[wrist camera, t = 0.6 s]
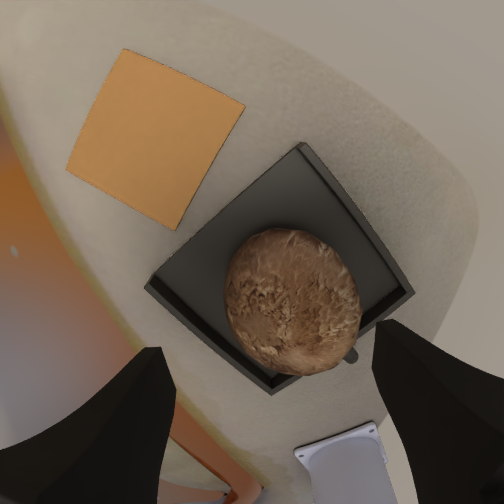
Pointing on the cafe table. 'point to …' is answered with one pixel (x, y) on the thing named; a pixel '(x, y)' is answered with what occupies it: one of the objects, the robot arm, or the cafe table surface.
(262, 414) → the cafe table surface
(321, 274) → the mushroom
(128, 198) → the mat
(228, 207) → the pan
